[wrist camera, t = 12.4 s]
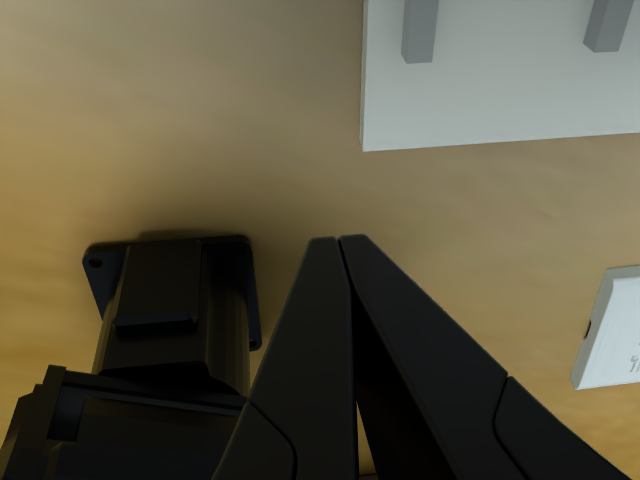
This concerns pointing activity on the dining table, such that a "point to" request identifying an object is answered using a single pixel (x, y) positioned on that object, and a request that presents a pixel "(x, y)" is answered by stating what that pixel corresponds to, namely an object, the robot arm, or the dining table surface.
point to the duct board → (497, 71)
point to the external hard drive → (612, 333)
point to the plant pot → (369, 477)
